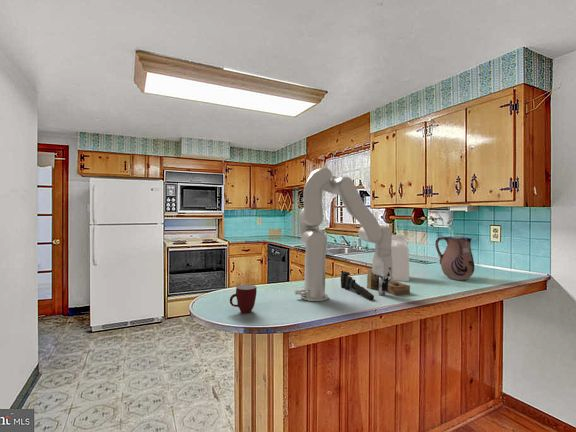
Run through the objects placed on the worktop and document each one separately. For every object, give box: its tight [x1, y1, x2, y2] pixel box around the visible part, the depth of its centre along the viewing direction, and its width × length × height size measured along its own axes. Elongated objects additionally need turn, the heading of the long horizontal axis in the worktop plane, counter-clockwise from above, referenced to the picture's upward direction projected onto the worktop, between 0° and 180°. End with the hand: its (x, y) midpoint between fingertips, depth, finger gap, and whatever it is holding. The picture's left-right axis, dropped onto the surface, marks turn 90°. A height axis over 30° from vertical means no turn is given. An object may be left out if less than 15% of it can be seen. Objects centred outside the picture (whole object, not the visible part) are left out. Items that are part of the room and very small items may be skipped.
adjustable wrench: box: [340, 270, 375, 301], centre depth 156 cm, size 8×3×25 cm
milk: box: [391, 234, 410, 282], centre depth 190 cm, size 12×12×26 cm
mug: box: [229, 284, 258, 314], centre depth 126 cm, size 11×8×10 cm
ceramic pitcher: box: [435, 236, 475, 281], centre depth 192 cm, size 18×21×25 cm
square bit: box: [366, 268, 377, 290], centre depth 166 cm, size 3×3×10 cm
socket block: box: [376, 280, 411, 296], centre depth 162 cm, size 16×9×4 cm, turn 23°
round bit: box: [378, 276, 386, 297], centre depth 154 cm, size 3×3×10 cm
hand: (382, 289), depth 154 cm, fingers closed on round bit, 3 cm apart
